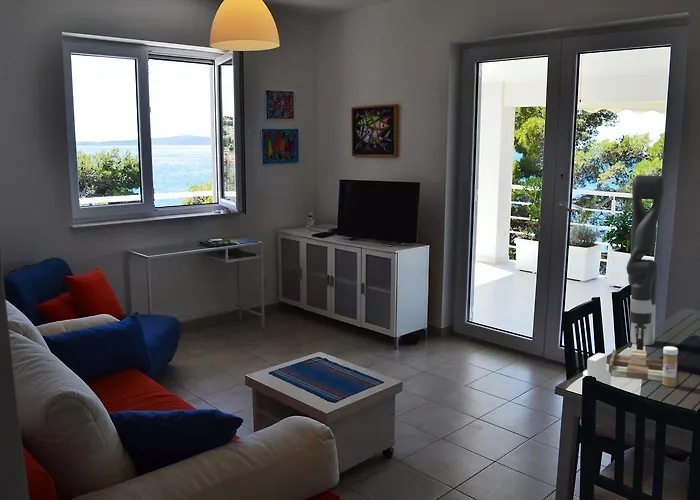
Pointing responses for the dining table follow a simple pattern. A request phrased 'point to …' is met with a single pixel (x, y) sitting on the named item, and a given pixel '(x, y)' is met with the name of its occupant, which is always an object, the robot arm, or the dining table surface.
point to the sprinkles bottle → (670, 366)
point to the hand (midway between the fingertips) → (639, 353)
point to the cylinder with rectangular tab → (598, 368)
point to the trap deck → (636, 367)
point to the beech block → (638, 357)
